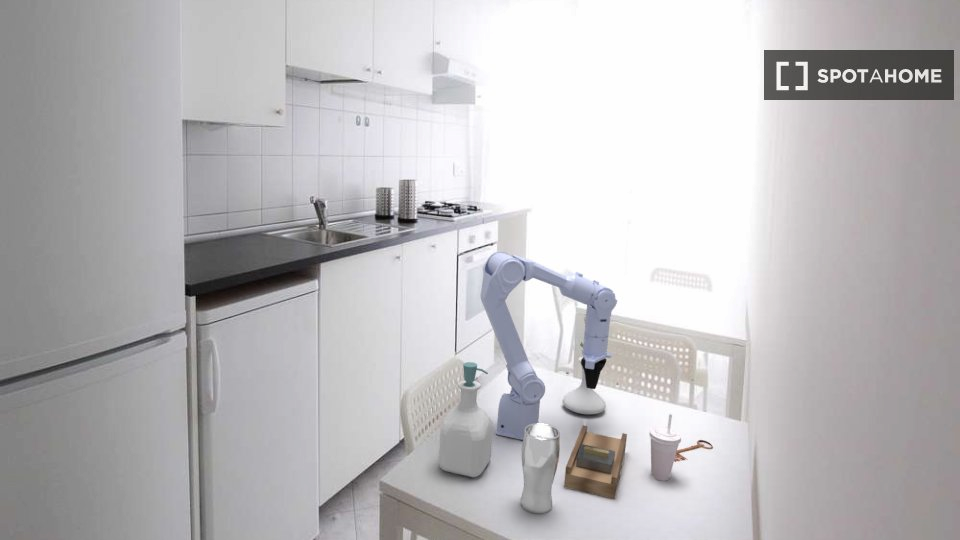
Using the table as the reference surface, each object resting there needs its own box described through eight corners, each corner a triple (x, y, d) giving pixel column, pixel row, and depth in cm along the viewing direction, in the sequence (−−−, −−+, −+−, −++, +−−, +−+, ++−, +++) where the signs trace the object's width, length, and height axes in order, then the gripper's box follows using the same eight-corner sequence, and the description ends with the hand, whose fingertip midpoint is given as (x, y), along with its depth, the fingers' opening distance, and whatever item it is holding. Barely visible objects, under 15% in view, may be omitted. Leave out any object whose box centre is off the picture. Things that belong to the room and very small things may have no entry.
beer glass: (515, 493, 111) (520, 422, 108) (550, 493, 112) (556, 422, 109) (520, 515, 104) (526, 439, 102) (558, 515, 105) (565, 440, 102)
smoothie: (678, 486, 117) (686, 422, 114) (645, 481, 118) (653, 418, 116) (674, 470, 123) (681, 409, 120) (643, 465, 124) (650, 405, 122)
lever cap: (576, 466, 117) (577, 452, 116) (581, 452, 122) (582, 439, 122) (610, 473, 114) (612, 460, 114) (614, 459, 120) (615, 446, 119)
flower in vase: (609, 419, 146) (618, 326, 141) (564, 417, 146) (573, 323, 141) (599, 399, 159) (608, 312, 154) (558, 396, 159) (566, 310, 154)
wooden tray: (564, 486, 114) (565, 466, 114) (581, 443, 133) (582, 425, 132) (614, 499, 111) (616, 478, 110) (625, 452, 130) (627, 434, 129)
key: (675, 467, 126) (722, 453, 133) (676, 463, 126) (723, 450, 132) (656, 452, 131) (702, 440, 138) (657, 449, 131) (703, 437, 137)
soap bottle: (479, 482, 114) (485, 375, 110) (435, 472, 117) (439, 367, 113) (493, 460, 123) (499, 360, 119) (452, 451, 126) (456, 353, 122)
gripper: (609, 345, 129) (603, 401, 131) (616, 329, 142) (611, 380, 145) (578, 340, 131) (573, 396, 134) (588, 324, 144) (583, 375, 147)
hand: (591, 387), depth 139 cm, fingers closed
